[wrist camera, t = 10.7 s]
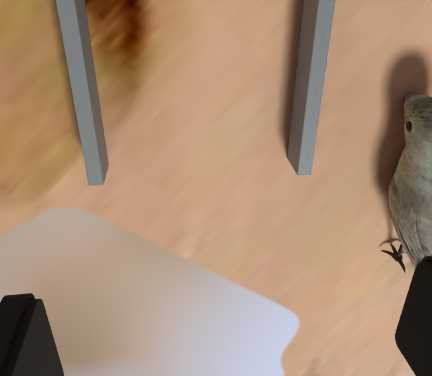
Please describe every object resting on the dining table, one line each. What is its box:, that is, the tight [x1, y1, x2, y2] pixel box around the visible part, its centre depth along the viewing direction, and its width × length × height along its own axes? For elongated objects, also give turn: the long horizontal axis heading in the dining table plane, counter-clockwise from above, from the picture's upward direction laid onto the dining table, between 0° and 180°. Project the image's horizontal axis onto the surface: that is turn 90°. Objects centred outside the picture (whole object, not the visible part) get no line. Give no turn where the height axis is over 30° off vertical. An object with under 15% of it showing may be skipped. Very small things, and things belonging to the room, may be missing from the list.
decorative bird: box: [381, 93, 432, 272], centre depth 31 cm, size 5×16×7 cm, turn 13°
